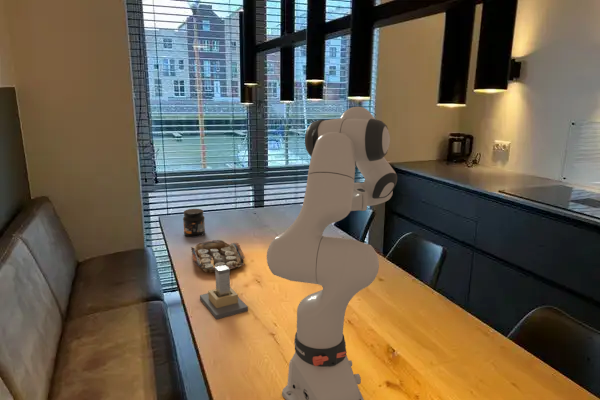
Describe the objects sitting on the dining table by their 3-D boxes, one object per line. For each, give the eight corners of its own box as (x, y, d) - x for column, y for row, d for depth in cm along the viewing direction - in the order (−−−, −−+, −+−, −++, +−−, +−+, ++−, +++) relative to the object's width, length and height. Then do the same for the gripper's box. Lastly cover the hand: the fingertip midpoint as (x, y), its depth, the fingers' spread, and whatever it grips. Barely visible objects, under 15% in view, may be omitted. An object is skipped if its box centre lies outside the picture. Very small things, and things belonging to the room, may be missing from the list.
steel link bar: (230, 301, 147) (229, 268, 144) (220, 304, 145) (218, 271, 142) (226, 297, 150) (225, 264, 147) (216, 299, 148) (214, 267, 145)
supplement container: (180, 233, 220) (178, 210, 217) (198, 229, 227) (197, 207, 224) (190, 238, 212) (189, 215, 210) (209, 234, 219) (208, 211, 216)
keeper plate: (247, 310, 144) (247, 298, 143) (216, 319, 138) (215, 306, 137) (229, 291, 157) (229, 280, 156) (199, 299, 152) (199, 287, 151)
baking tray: (253, 272, 175) (252, 259, 174) (198, 281, 167) (197, 267, 165) (234, 248, 202) (233, 236, 200) (186, 254, 193) (185, 242, 192)
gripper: (333, 181, 157) (301, 185, 150) (370, 193, 140) (335, 198, 133) (333, 198, 159) (300, 203, 152) (369, 211, 142) (335, 217, 135)
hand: (317, 200), depth 143 cm, fingers open, 8 cm apart
